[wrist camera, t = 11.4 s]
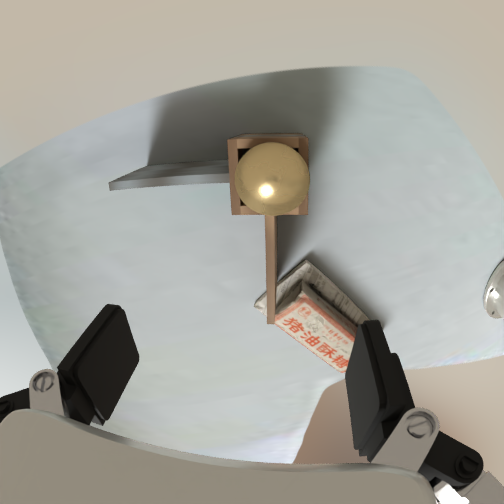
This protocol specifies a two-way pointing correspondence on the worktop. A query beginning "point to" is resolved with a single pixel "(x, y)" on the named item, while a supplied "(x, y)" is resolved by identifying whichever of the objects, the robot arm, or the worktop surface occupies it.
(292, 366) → the worktop surface
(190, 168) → the hinge
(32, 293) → the worktop surface
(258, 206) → the hinge pin
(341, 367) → the packaged product
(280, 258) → the worktop surface
